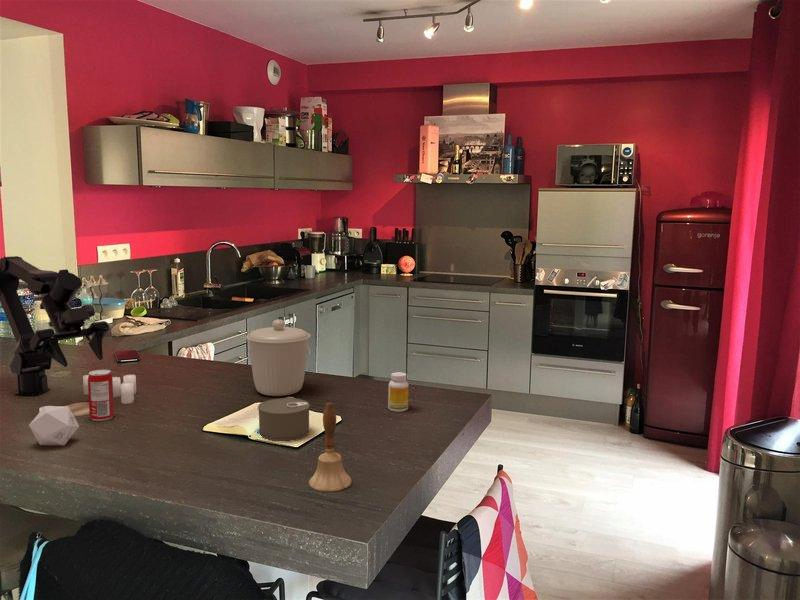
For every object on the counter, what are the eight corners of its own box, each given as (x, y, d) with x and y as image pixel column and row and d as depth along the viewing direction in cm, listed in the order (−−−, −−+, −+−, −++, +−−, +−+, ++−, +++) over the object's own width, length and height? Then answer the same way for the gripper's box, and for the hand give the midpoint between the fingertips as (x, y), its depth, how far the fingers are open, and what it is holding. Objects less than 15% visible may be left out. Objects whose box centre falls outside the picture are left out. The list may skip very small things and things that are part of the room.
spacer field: (16, 429, 154) (15, 409, 153) (89, 390, 187) (88, 373, 186) (88, 431, 153) (87, 411, 152) (148, 392, 186) (148, 375, 185)
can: (253, 428, 158) (253, 400, 157) (302, 422, 162) (302, 395, 162) (264, 445, 147) (263, 415, 146) (316, 438, 152) (316, 409, 151)
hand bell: (300, 487, 125) (300, 406, 123) (321, 471, 133) (321, 395, 130) (340, 495, 122) (340, 412, 120) (358, 478, 130) (359, 400, 127)
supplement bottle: (385, 406, 176) (385, 372, 175) (404, 405, 178) (404, 370, 176) (392, 412, 171) (392, 377, 170) (411, 411, 173) (411, 375, 171)
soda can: (106, 412, 167) (104, 367, 165) (118, 417, 164) (116, 370, 162) (85, 418, 162) (83, 371, 161) (97, 422, 159) (95, 375, 158)
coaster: (50, 415, 164) (50, 413, 164) (72, 403, 174) (71, 401, 174) (89, 416, 164) (89, 414, 164) (108, 404, 174) (108, 402, 173)
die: (46, 456, 140) (75, 416, 142) (13, 433, 141) (43, 394, 143) (65, 456, 148) (93, 418, 150) (34, 434, 149) (62, 397, 151)
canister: (234, 395, 184) (232, 322, 181) (269, 380, 200) (269, 312, 197) (289, 404, 177) (289, 327, 174) (322, 387, 194) (322, 317, 191)
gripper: (33, 298, 159) (59, 351, 154) (105, 291, 174) (130, 339, 170) (18, 324, 164) (42, 376, 160) (89, 315, 180) (113, 362, 175)
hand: (84, 362), depth 166 cm, fingers open, 9 cm apart
